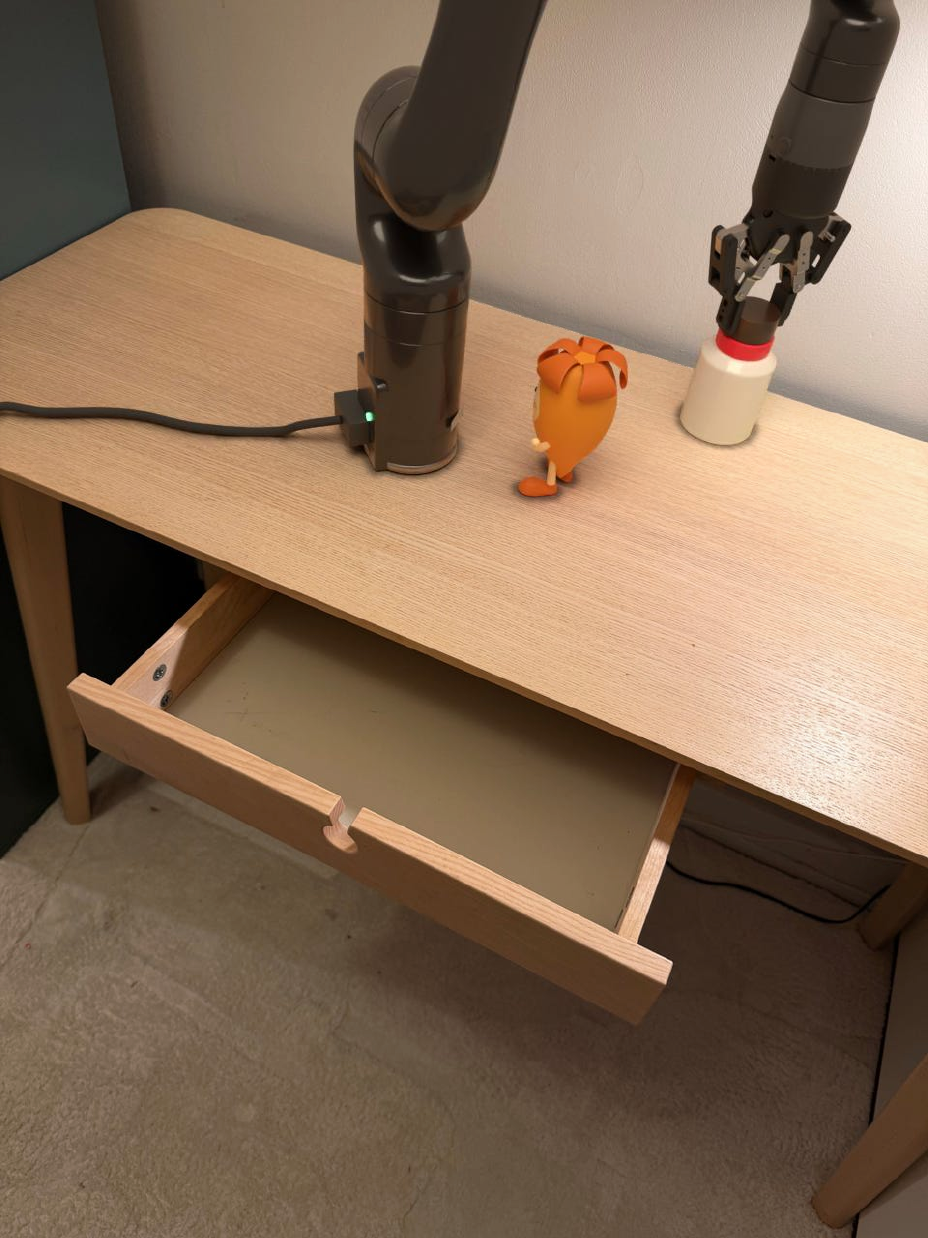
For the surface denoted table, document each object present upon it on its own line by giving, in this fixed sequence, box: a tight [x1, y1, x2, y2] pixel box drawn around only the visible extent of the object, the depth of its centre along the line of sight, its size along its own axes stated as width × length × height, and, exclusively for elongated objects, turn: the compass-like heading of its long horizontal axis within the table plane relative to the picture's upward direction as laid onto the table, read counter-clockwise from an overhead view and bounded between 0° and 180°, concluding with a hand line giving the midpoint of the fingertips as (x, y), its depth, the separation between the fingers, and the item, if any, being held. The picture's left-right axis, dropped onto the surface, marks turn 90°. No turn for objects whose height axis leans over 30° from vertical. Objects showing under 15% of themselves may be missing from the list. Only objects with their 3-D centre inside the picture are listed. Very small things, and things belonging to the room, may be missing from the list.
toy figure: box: [518, 335, 629, 497], centre depth 83 cm, size 12×8×15 cm, turn 143°
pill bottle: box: [679, 327, 778, 446], centre depth 94 cm, size 8×8×11 cm
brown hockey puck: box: [728, 295, 781, 345], centre depth 89 cm, size 5×5×2 cm
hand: (749, 325), depth 89 cm, fingers closed on brown hockey puck, 5 cm apart
